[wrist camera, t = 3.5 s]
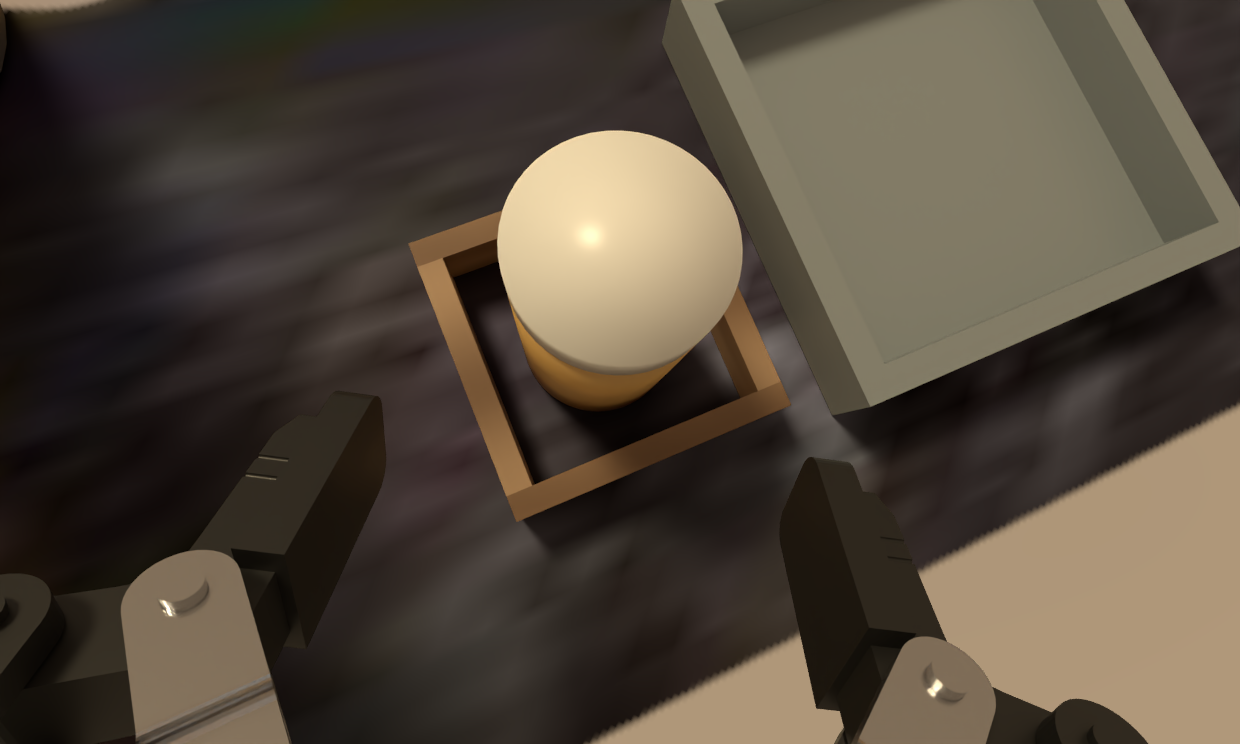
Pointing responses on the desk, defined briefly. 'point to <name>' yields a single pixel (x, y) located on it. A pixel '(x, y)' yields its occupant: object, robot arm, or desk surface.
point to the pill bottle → (615, 264)
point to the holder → (438, 268)
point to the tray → (945, 171)
